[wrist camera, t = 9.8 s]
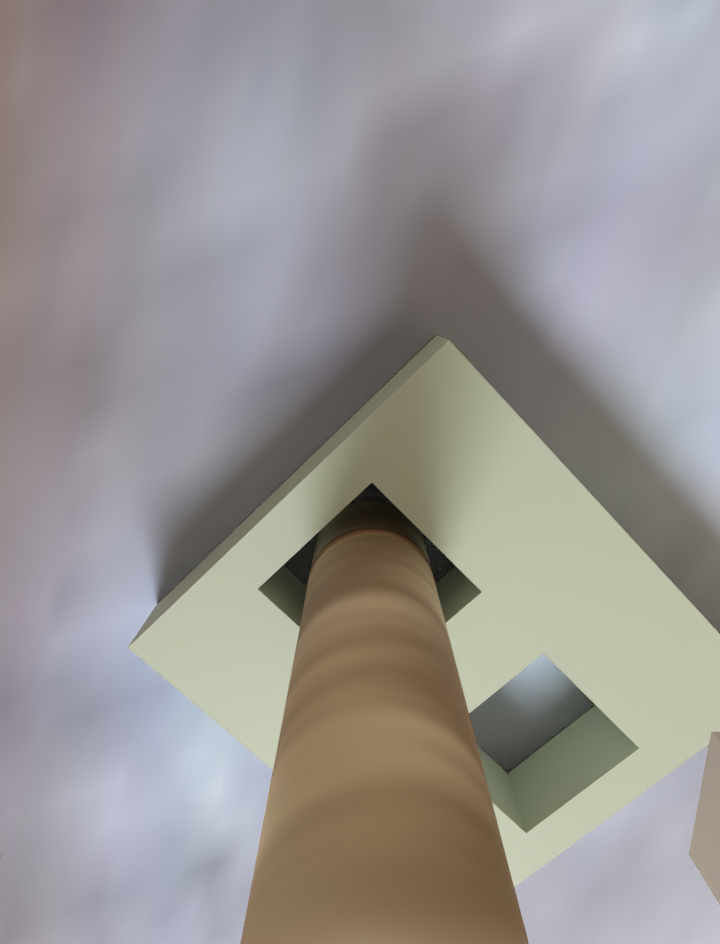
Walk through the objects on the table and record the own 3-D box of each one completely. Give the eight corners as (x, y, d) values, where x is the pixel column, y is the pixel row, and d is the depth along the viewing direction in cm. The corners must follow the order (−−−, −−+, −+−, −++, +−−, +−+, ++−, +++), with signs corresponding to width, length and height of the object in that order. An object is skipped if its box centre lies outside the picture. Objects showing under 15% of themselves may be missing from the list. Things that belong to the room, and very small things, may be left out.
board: (156, 605, 24) (127, 647, 21) (437, 334, 21) (449, 339, 19) (448, 859, 27) (459, 927, 24) (726, 647, 24) (775, 694, 21)
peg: (290, 553, 23) (176, 965, 9) (371, 477, 23) (390, 794, 8) (368, 625, 24) (379, 1117, 10) (449, 555, 23) (592, 971, 9)
